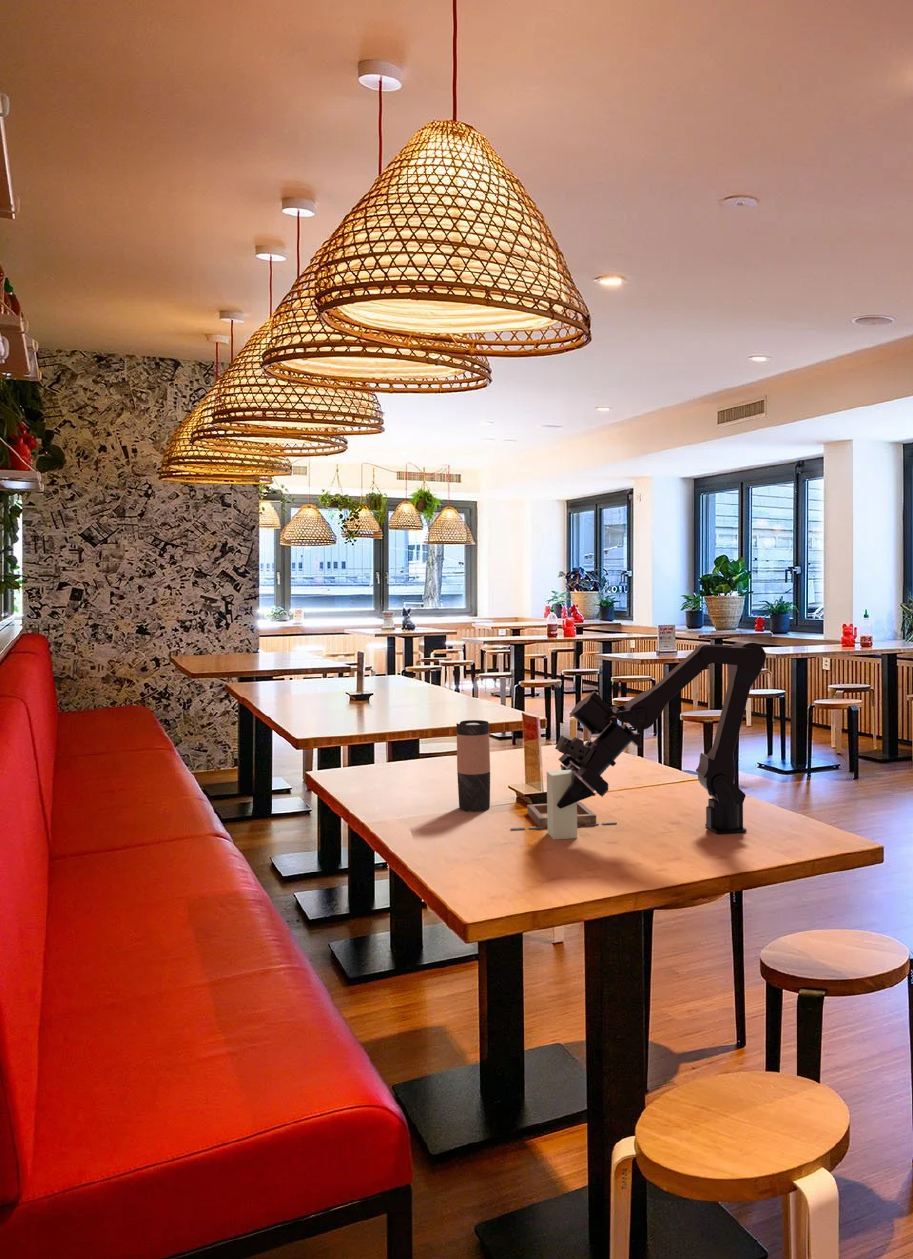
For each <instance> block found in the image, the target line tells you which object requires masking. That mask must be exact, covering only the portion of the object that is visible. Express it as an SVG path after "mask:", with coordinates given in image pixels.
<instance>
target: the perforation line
mask: <svg viewBox="0 0 913 1259" xmlns="http://www.w3.org/2000/svg"><path fill="white" fill-rule="evenodd" d="M599 824H600V823H598V822H596V823H588V824H584V825H583V826H584V827H587V826H588V827H590V826H599ZM601 824H602V825H603V826H604V825H605V826H606V825H607V826H610V825H617V824H618V822H616V821H607V822H601ZM577 827H581V825H580V824H577ZM528 829H529V830H537V829H538V830H539V829H544V827H543V826H538V825H536V826H529V827H528ZM520 830H521V831H523V830H526V827H524V826H522V827H510V831H520Z"/></svg>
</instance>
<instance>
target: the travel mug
mask: <svg viewBox="0 0 913 1259" xmlns="http://www.w3.org/2000/svg"><path fill="white" fill-rule="evenodd" d="M490 751H491V750H490V722H489V721H487V720H483V719H481V720H479V719H473V720H472V719H469V720H468V719H467V720H461V721H460V722H459V723H458V722H456V771H457V773H456V775H457V791H458V793H457V794H458V808H459V810H460V809H461V811H463V810H464V811H463V812H468V811H479V812H485V811H488V810H489V809H490V807H491V756H490V755H491V754H490V753H491V752H490Z"/></svg>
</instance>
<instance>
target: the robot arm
mask: <svg viewBox="0 0 913 1259" xmlns="http://www.w3.org/2000/svg"><path fill="white" fill-rule="evenodd" d="M766 660H767V653H766V652H765V649H764V648H763V647H762V645H760V644H758V643H756V642H752V641H748V640H739V641H736V642H734V643H733V644H710V643H709V644H708V643H704V642H703V643H700V644H699V643H698V645H696V646H695V648H694V650H693V651H691V652H690V654H688V655H687V656H686V657H685V658H684V659H683V660H682V661H680V662H679V663H678V664H677V665H676V666H675V667H674V668H672V670H670V671H669V672H668V673H667V674H666V675H665V676H664V677H663V678H662V679H660V681H658V682H657V683H656V684H655V685H654V686H652V687H650V688H649V689H646V690H645V691H642V692H641V693H638V694H637V695H635V696H634V697H632V698H631V699H629V700H628V701H626V702H625V704H621V705H616V706H611V707H610V706H609V705H608V704H607V703H606V702H605V701H604V700H603V699H602V698H601V695H599V694H598V693H597V692H596V691H595V690H594V691H592V692H591V693H590V694H587V696H585V697H584V698H583V699H581V700H579V702H577V703H576V705H574V707H573V708H572V710H571V712H570V715H571V716H572V717H573V718H574V719H576V721H578V722H579V724H580V725H582V727H584V728H585V729H586V731H588V732H589V733H594V732H596V733H597V734H598V733H600V732H601V733H600V734H599V735H598V736H597V737H596V738H595V739H594V740H593V741H592V740H588V741H586V742H585V743H584V740H583V739H580V738H578V737H576V736H575V737H573V738H570V737H568V736H565V735H563V734H560V736H559V738H558V741H557V742H556V743H557V744H556V746H555V750H557V751H558V752H559V753H561V756H560V757H559V758H558V761H559V762H560V766H559V767H560V770H571V771H572V772H574V773H575V774H576V775H575V774H573V773H572V777H571V785H570V786H569V787H568V789H567V790H566V792H565V793H564V794H563V796H562V797H561V799H560V800H559V802H558V803H557V806H558V807H559V808H560V809H561V808H564V807H566V806H568V805H571V804H573V803H575V802H581V801H582V800H583V801H584V800H585V799H588V798H590V797H595V796H597V795H596V793H597V794H598V795H599V796H600V797H602V798H603V797H604V796H605V795H606V794H607V793H608V791H609V783H608V782H607V781H606V780H605V779H604V778H603V776H602V775H603V773H605V771H606V770H607V769H608V768H609V767H610V766H611V767H615V765H616V764H617V762H616V761H615V760H616V759H617V758H618V757H619V756H620V755H621V754H622V752H624V751H625V750H626V748H627V747H628V746H629V745H630V744H631V743H632V744H633V745H634V746H636V747H638V748H642V739H641V738H642V734H641V733H639V732H634V731H632V729H631V728H630V727H628V726H627V724H629V726H631V727H632V728H633V729H635V730H642V731H645V730H647V729H649V728H651V727H652V726H653V725H654V724H655V722H656V721H657V720H658V718H659V717H660V716H661V715H662V713H663V711H664V710H665V708H666V706H667V705H668V704H669V702H670V701H671V700H672V699H673V698H674V697H675V696H676V695H678V694H679V693H680V692H681V691H682V690H683V689H684V688H685V687H686V686H687V685H689V683H691V682H692V681H694V679H695V678H696V677H698V676H699V674H701V673H702V672H703V671H704V670H705V669H706V668H707V667H708V666H710V665H712V664H714V665H715V664H720V665H727V674H728V675H727V676H728V677H727V678H728V683H727V688H726V692H725V695H724V698H723V699H724V700H723V705H722V708H721V711H720V716H719V720H718V723H717V727H716V732H715V736H714V739H713V744H712V746H711V749H710V750H709V751H708V753H707V754H706V753H703V752H702V753H700V754H699V764H698V766H697V768H696V769H695V772H696V773H697V780H698V781H699V783H700V786H702V787H703V789H706V791H707V793H708V795H709V796H710V797H711V798H707V800H708V801H707V802H708V804H707V806H705V824H704V825H705V827H706V828H707V829H710V830H711V831H713V832H714V833H715V834H731V833H732V834H733V833H744V832H747V828H745V827H744V801H745V800H746V795H747V794H746V793H745V792H743V790H741V788H739V787H738V785H736V783H735V777H736V767H735V766H736V764H735V751H736V748H737V747H736V746H737V743H738V738H739V735H740V730H741V727H742V722H743V719H744V715H745V711H746V707H747V703H748V698H749V696H750V695H749V694H750V691H751V688H752V686H753V685H754V683H755V681H756V680H757V679H758V678H759V676H760V674H761V672H762V670H763V668H764V665H765V663H766ZM613 717H614V718H616V719H617V720H618V721H619V723H620V722H621V723H626V724H621V725H620V724H619V723H617V721H616V720H614V719H613ZM595 792H596V793H595Z"/></svg>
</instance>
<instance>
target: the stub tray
mask: <svg viewBox="0 0 913 1259" xmlns="http://www.w3.org/2000/svg"><path fill="white" fill-rule="evenodd" d="M526 809H527V810H526V811H527V812H526V814H527V815H528V816H529V817H530V819H531V820H532V821H533V822H534V823H535V824H536V826H543V827H544V828H548V825H547V803H537V804H534V803H533V804H527V805H526ZM588 823H597V814H595V813H594V811H592V810H591V809H589V808H588V807H587V806H586V805H585V804H584V803H583V802H582V801H578V802H577V824H580V826H584V824H588ZM544 828H543V829H544Z"/></svg>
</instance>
